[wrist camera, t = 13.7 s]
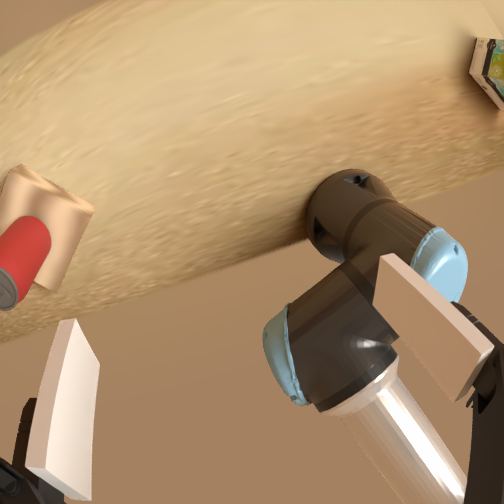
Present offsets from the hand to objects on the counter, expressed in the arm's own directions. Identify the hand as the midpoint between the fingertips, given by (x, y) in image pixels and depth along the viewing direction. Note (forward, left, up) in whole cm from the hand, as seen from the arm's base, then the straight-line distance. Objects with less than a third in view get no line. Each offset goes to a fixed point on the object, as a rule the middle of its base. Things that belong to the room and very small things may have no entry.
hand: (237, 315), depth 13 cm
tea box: (-35, -52, -31) cm, 70 cm away
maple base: (+13, +18, -31) cm, 38 cm away
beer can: (+13, +19, -27) cm, 35 cm away
